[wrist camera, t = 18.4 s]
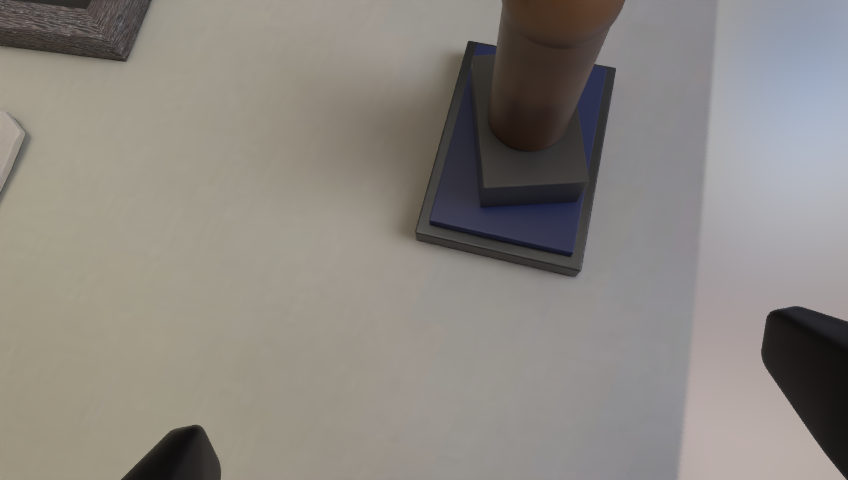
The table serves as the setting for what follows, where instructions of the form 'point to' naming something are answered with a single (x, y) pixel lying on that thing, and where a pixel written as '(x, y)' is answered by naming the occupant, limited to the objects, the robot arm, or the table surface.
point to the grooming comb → (8, 144)
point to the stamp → (536, 100)
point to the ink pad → (517, 224)
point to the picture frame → (73, 26)
